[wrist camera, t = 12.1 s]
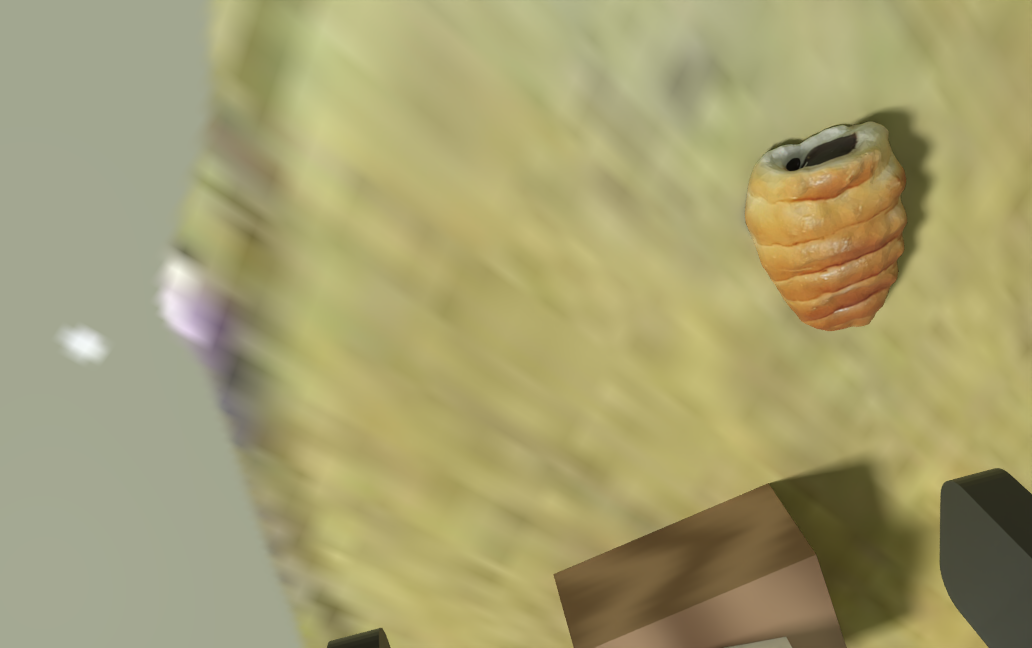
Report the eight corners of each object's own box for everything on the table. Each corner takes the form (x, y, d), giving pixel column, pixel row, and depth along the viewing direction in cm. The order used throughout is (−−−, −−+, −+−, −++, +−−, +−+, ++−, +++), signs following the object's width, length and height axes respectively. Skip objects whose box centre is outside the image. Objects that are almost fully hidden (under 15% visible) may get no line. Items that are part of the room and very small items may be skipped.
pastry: (902, 288, 45) (945, 323, 42) (768, 339, 45) (800, 378, 42) (871, 103, 41) (917, 125, 37) (723, 160, 41) (755, 187, 38)
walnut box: (766, 479, 49) (816, 554, 44) (819, 634, 54) (869, 717, 49) (552, 570, 49) (575, 655, 44) (626, 714, 55) (655, 806, 50)
